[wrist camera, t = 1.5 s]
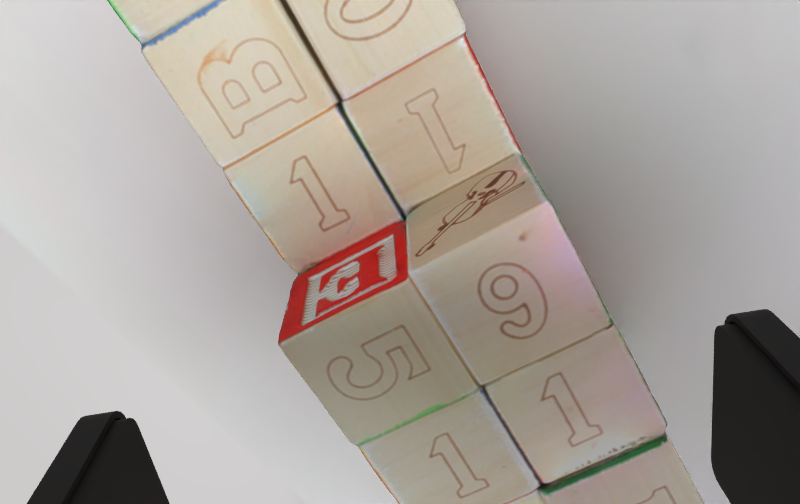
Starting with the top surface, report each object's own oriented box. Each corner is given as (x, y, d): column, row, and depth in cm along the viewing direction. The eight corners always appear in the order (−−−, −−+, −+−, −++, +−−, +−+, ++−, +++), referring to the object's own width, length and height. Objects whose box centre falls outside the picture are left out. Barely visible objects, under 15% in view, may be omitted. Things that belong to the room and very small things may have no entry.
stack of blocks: (175, -83, 22) (-62, -118, 10) (348, -194, 21) (295, -370, 9) (474, 411, 29) (525, 701, 18) (613, 350, 28) (760, 618, 17)
